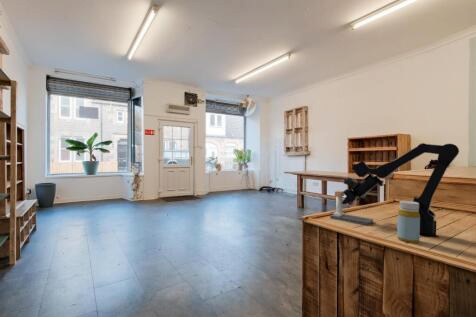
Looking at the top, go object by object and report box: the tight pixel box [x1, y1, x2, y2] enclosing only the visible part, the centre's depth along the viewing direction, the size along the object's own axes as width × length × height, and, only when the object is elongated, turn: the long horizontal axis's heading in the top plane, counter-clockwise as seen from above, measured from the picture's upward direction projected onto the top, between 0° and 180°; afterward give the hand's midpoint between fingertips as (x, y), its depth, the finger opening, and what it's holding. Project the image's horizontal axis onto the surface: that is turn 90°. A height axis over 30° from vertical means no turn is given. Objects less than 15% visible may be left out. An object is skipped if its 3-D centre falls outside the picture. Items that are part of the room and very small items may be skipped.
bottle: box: [396, 200, 421, 244], centre depth 93 cm, size 7×7×15 cm
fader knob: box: [333, 190, 345, 216], centre depth 126 cm, size 4×5×12 cm
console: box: [329, 213, 374, 226], centre depth 122 cm, size 18×9×2 cm, turn 47°
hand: (342, 203), depth 125 cm, fingers closed, pressing on fader knob
